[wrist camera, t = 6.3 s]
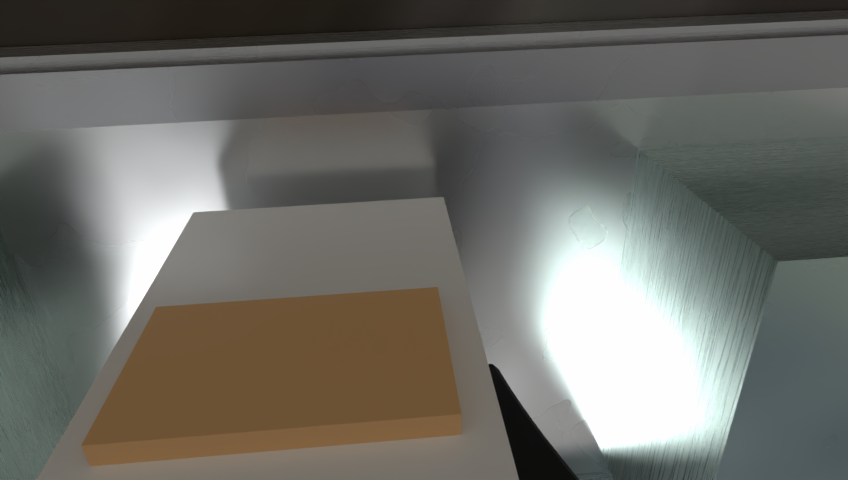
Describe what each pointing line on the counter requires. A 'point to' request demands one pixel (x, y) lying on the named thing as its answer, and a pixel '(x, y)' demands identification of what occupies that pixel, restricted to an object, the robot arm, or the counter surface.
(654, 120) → the din panel
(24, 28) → the counter surface
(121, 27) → the counter surface
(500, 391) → the robot arm
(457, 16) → the counter surface
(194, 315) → the block
